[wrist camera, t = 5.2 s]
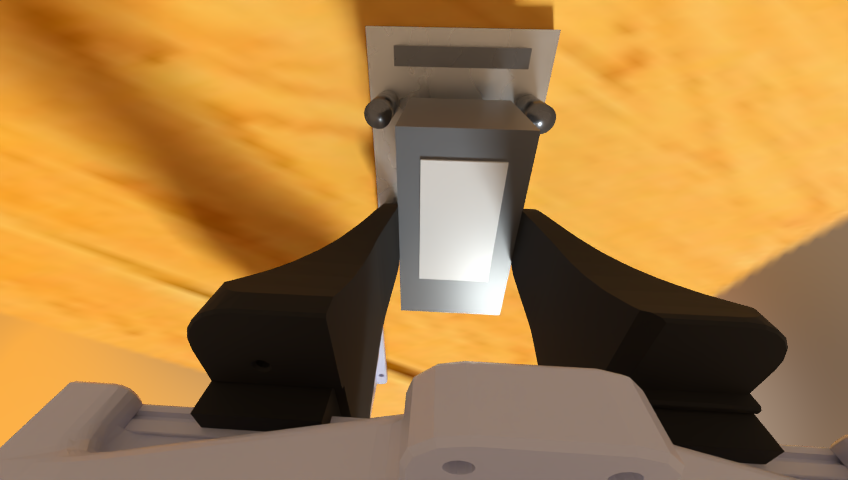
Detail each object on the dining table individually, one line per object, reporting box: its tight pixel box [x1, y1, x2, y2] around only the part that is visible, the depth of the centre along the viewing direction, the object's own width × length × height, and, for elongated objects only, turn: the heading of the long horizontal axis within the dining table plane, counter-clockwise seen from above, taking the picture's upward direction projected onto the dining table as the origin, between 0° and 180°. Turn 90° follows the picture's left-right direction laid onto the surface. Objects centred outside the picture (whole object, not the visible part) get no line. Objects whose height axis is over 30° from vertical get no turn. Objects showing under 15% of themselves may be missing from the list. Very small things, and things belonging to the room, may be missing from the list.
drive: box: [395, 98, 540, 315], centre depth 14 cm, size 8×4×5 cm, turn 179°
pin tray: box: [364, 26, 561, 208], centre depth 17 cm, size 13×9×4 cm
